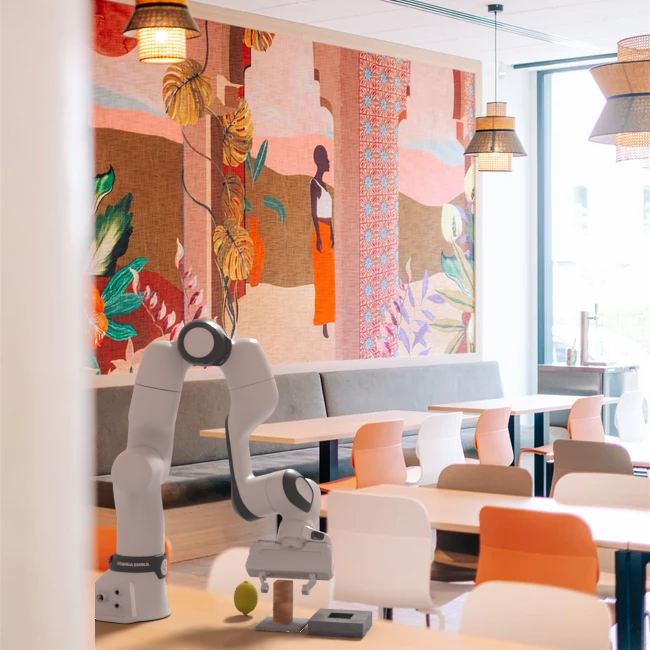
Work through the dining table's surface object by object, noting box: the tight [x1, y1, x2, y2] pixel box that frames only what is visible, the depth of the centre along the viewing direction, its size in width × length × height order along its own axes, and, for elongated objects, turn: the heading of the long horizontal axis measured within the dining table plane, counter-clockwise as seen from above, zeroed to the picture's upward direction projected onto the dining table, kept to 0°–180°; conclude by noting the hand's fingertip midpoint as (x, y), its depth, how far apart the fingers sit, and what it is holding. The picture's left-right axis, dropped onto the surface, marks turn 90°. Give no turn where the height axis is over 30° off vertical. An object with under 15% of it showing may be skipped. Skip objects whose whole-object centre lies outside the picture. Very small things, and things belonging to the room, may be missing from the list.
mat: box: [254, 615, 310, 633], centre depth 236 cm, size 10×10×1 cm
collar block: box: [307, 607, 373, 639], centre depth 233 cm, size 12×12×3 cm
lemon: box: [233, 580, 259, 616], centre depth 246 cm, size 6×6×8 cm
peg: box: [272, 579, 294, 625], centre depth 236 cm, size 4×4×9 cm
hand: (284, 592), depth 237 cm, fingers open, 8 cm apart
